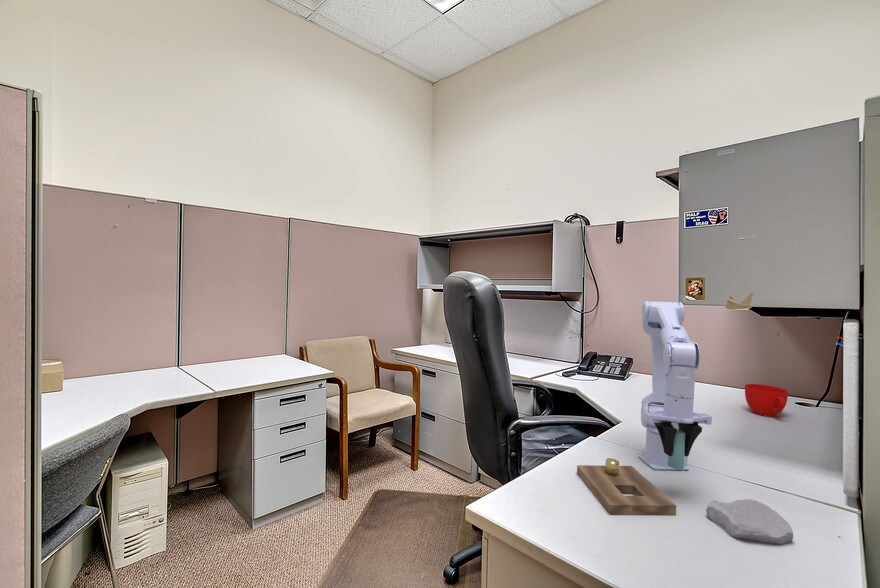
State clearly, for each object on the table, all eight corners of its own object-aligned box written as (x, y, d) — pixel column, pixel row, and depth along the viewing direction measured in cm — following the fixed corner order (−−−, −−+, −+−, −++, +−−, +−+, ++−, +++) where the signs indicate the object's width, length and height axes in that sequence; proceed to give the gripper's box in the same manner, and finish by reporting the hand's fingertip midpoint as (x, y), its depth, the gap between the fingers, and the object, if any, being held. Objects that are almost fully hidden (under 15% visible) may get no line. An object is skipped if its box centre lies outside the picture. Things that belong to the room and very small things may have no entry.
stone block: (798, 553, 76) (755, 513, 86) (804, 532, 75) (759, 493, 84) (737, 556, 75) (701, 515, 85) (742, 534, 74) (705, 495, 84)
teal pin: (677, 462, 93) (679, 428, 93) (687, 469, 90) (688, 434, 90) (664, 462, 93) (666, 428, 93) (673, 469, 90) (674, 433, 90)
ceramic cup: (762, 421, 146) (763, 394, 146) (736, 407, 162) (737, 382, 162) (802, 424, 144) (804, 397, 143) (772, 410, 160) (774, 385, 160)
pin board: (631, 473, 102) (632, 454, 102) (675, 515, 84) (677, 491, 84) (576, 473, 101) (577, 453, 101) (609, 514, 83) (610, 490, 83)
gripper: (658, 399, 87) (655, 461, 87) (723, 400, 88) (719, 462, 88) (640, 390, 94) (637, 448, 94) (700, 392, 95) (697, 449, 95)
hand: (676, 454), depth 92 cm, fingers closed on teal pin, 3 cm apart
